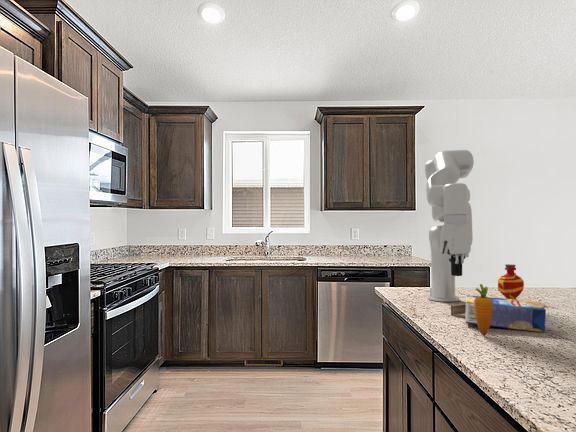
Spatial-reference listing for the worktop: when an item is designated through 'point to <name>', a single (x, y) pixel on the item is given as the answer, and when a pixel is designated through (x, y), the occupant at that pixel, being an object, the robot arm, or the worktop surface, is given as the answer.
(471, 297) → the beverage box
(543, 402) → the worktop surface
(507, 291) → the potion bottle
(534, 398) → the worktop surface
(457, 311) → the u rest
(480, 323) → the carrot
